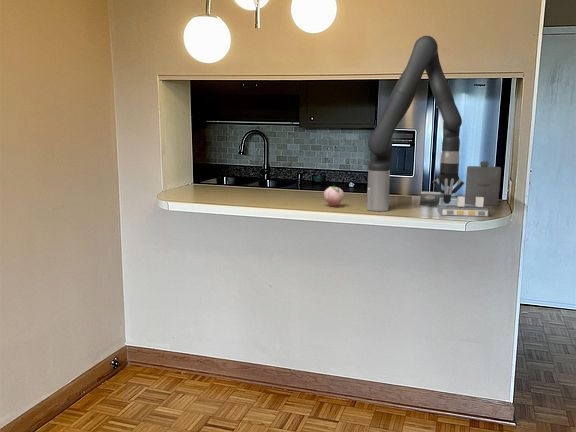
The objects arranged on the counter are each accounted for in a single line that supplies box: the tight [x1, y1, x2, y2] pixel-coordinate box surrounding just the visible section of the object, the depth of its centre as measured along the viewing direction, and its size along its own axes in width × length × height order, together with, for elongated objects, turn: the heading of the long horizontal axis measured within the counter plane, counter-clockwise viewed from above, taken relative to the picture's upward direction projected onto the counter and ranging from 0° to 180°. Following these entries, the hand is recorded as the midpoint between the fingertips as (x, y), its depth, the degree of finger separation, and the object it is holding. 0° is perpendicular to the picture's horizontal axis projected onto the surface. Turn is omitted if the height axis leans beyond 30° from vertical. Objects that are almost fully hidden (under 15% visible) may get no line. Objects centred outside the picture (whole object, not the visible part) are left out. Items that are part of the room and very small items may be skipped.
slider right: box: [474, 196, 484, 207], centre depth 236 cm, size 2×4×4 cm
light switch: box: [419, 191, 442, 206], centre depth 254 cm, size 8×6×14 cm
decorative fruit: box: [323, 185, 345, 208], centre depth 252 cm, size 9×8×10 cm
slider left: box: [456, 195, 465, 207], centre depth 237 cm, size 2×4×4 cm
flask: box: [464, 160, 502, 207], centre depth 263 cm, size 15×6×20 cm, turn 77°
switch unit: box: [437, 204, 490, 218], centre depth 237 cm, size 19×10×3 cm, turn 84°
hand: (446, 203), depth 238 cm, fingers closed
